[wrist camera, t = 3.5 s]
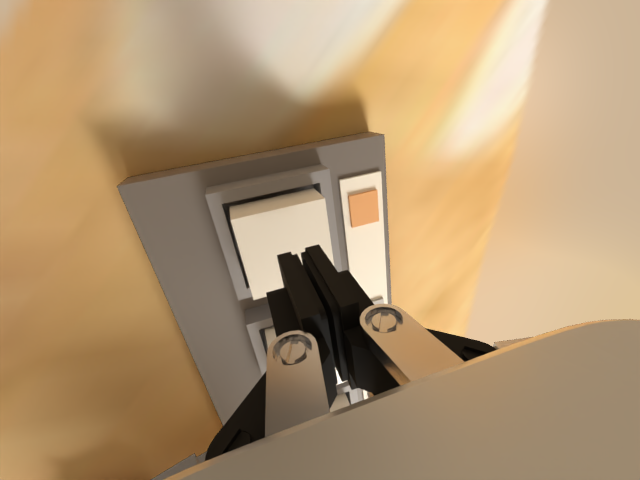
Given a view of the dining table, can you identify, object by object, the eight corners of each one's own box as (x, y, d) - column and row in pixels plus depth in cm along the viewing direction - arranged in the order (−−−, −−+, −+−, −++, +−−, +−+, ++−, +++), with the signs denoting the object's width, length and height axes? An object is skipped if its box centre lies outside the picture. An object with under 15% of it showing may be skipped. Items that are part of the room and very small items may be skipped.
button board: (385, 390, 30) (404, 423, 26) (240, 445, 27) (243, 489, 24) (369, 131, 19) (397, 136, 16) (127, 177, 16) (106, 194, 13)
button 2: (324, 260, 18) (335, 276, 16) (250, 280, 17) (253, 300, 15) (313, 188, 16) (325, 198, 14) (229, 206, 15) (230, 220, 13)
